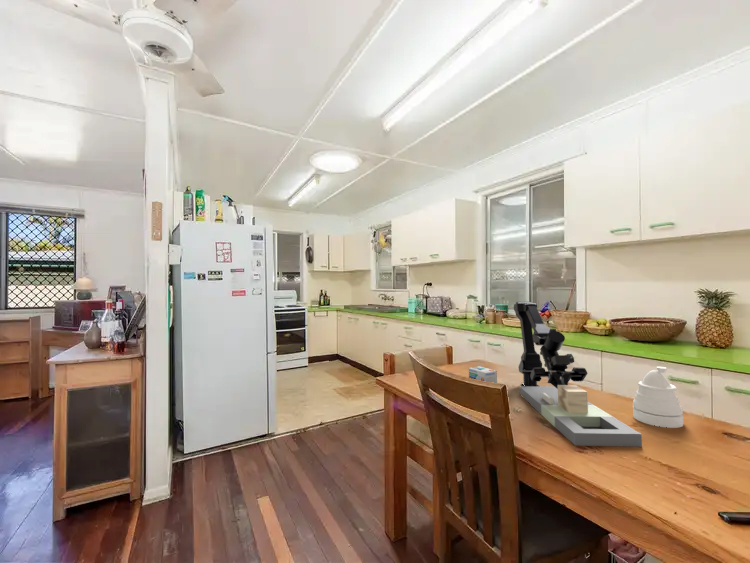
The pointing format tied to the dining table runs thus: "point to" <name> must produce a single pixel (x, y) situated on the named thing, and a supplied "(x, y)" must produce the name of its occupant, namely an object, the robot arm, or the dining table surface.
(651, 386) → the honey pot
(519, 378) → the dining table surface
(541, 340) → the robot arm
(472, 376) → the light bulb box
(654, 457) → the dining table surface
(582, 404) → the maple block
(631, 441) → the platform
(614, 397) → the dining table surface
